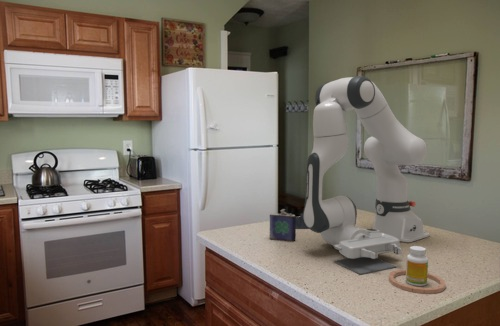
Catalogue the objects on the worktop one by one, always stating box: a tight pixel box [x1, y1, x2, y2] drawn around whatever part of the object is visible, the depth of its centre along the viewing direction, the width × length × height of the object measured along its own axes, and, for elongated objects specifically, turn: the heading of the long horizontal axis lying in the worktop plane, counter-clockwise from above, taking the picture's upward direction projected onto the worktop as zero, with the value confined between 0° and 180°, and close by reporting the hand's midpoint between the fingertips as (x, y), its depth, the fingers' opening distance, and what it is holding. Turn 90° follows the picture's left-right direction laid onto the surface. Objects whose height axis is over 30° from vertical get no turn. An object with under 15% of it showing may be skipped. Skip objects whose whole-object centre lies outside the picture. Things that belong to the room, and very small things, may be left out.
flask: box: [269, 208, 297, 243], centre depth 150 cm, size 10×3×12 cm, turn 71°
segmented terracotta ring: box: [388, 269, 447, 295], centre depth 110 cm, size 14×14×1 cm
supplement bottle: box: [405, 245, 429, 287], centre depth 110 cm, size 5×5×10 cm
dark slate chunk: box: [295, 212, 310, 230], centre depth 173 cm, size 15×22×5 cm
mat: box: [333, 257, 397, 276], centre depth 124 cm, size 14×12×1 cm
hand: (388, 253), depth 119 cm, fingers open, 8 cm apart
